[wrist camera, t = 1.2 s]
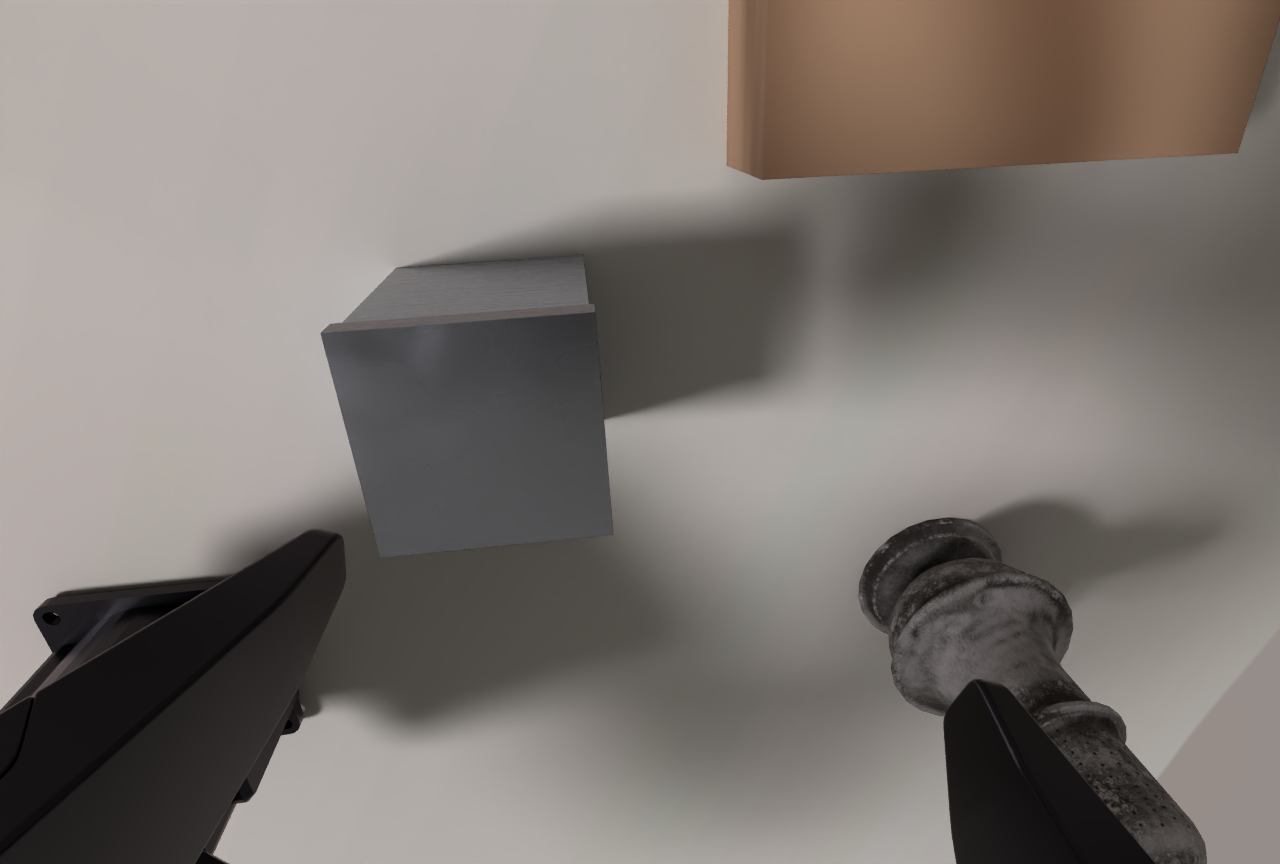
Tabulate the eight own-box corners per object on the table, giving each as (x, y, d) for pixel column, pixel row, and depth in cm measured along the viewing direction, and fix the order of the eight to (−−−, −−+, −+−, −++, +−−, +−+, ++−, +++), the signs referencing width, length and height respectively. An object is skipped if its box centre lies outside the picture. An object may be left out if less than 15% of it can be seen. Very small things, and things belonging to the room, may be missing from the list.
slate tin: (427, 438, 21) (379, 557, 15) (391, 264, 18) (320, 332, 13) (600, 423, 21) (613, 535, 16) (586, 250, 19) (595, 311, 13)
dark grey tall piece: (958, 480, 23) (1298, 808, 13) (1035, 577, 26) (1379, 925, 15) (818, 582, 25) (1018, 958, 14) (904, 666, 27) (1133, 1046, 16)
